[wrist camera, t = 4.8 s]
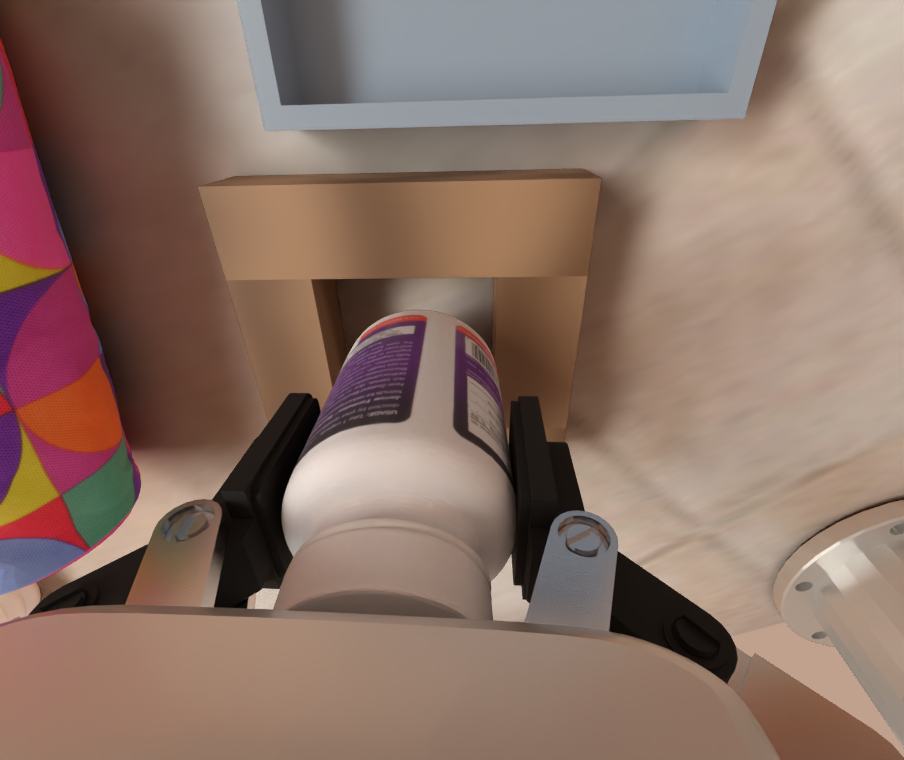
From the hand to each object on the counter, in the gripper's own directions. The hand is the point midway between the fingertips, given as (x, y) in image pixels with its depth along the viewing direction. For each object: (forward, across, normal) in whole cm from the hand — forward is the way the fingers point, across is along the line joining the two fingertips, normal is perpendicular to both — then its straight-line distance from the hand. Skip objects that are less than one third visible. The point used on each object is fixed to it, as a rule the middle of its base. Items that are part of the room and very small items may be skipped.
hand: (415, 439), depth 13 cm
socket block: (+7, +1, 0) cm, 7 cm away
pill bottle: (+4, 0, 0) cm, 4 cm away
